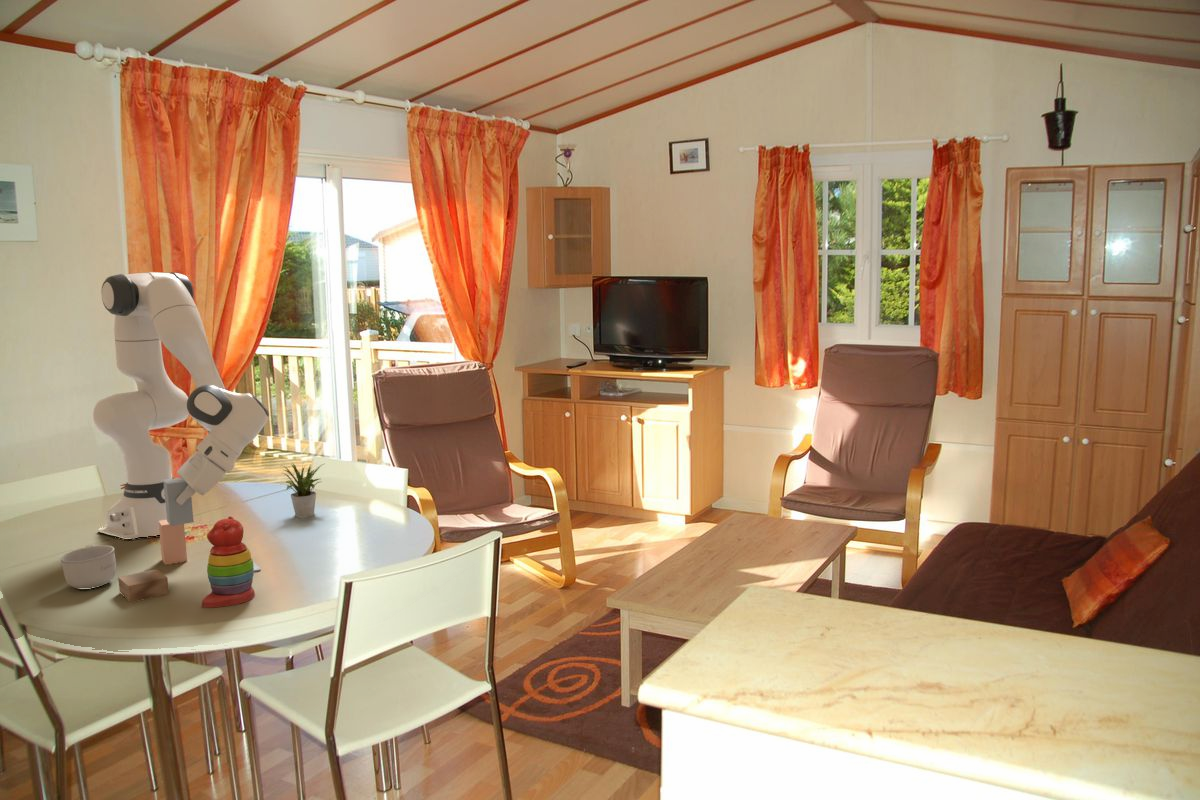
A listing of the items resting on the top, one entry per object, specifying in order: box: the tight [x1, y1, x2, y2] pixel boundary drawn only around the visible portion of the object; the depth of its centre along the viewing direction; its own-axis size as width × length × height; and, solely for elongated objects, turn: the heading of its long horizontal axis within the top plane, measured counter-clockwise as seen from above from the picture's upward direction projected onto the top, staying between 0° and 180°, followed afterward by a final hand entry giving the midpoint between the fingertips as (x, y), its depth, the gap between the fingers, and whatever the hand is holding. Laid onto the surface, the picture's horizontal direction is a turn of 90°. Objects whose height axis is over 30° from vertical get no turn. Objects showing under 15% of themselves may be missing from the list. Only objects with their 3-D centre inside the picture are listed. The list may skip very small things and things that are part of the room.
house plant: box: [280, 459, 325, 518], centre depth 268 cm, size 14×14×16 cm
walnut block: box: [117, 568, 170, 603], centre depth 206 cm, size 8×8×4 cm
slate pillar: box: [163, 477, 195, 526], centre depth 219 cm, size 5×5×10 cm
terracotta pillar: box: [158, 520, 188, 565], centre depth 229 cm, size 5×5×10 cm
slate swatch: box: [253, 562, 261, 573], centre depth 221 cm, size 6×6×1 cm
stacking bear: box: [201, 516, 256, 608], centre depth 201 cm, size 11×10×18 cm
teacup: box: [60, 544, 117, 589], centre depth 213 cm, size 14×11×8 cm
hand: (175, 499), depth 219 cm, fingers closed on slate pillar, 5 cm apart
